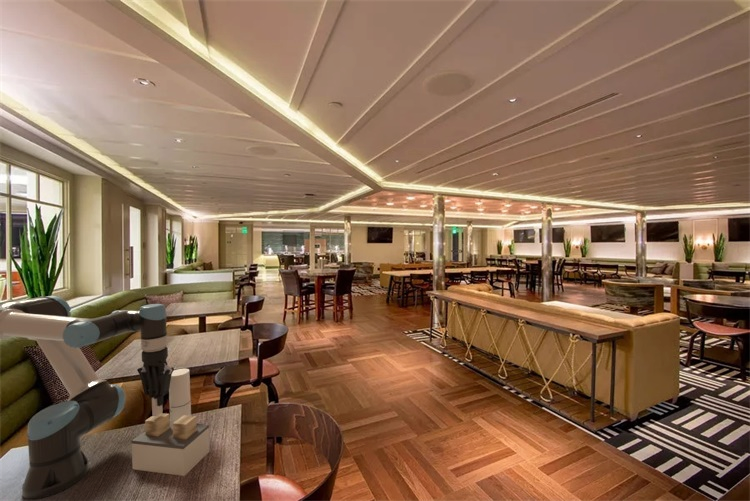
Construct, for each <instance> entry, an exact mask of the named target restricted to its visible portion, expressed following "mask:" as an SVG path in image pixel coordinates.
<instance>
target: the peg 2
mask: <svg viewBox="0 0 750 501" xmlns="http://www.w3.org/2000/svg"><path fill="white" fill-rule="evenodd" d="M197 424H198V423H197V415H191V416H187V415H184V416H182V417H181V418H179V419H178V420H177V421H175V422H174V423H173V438H176V439H185V440H186V439H188V438H189V437H190V436H191V435H192V434H194V433H195V432H196V431H197Z"/></svg>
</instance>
